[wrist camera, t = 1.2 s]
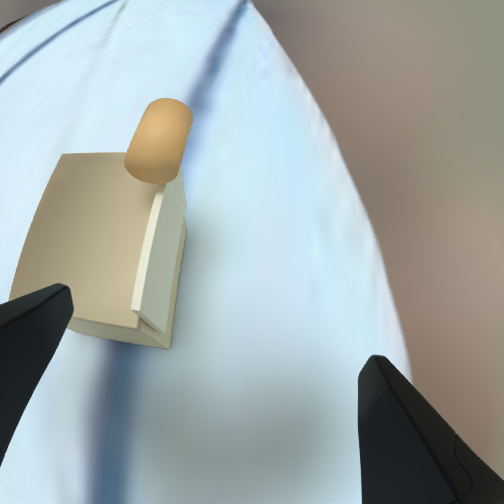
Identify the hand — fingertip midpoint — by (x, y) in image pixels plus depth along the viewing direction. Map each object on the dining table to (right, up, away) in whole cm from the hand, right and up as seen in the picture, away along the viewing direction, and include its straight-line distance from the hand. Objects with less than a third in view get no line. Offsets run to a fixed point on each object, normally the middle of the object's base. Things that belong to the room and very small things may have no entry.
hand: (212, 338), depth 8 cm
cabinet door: (-4, +2, +11) cm, 11 cm away
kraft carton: (-9, 0, +15) cm, 17 cm away
